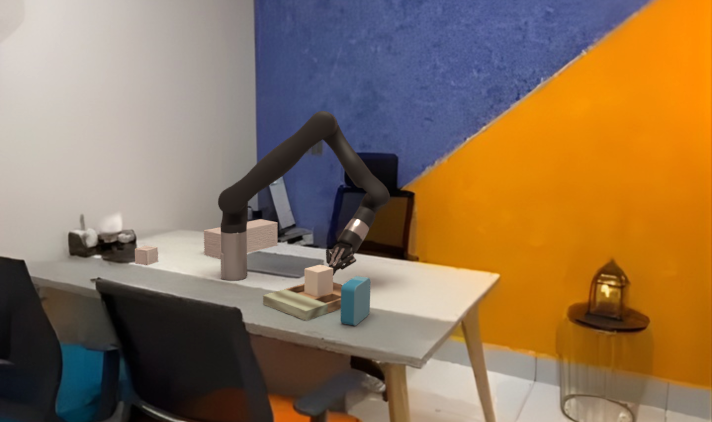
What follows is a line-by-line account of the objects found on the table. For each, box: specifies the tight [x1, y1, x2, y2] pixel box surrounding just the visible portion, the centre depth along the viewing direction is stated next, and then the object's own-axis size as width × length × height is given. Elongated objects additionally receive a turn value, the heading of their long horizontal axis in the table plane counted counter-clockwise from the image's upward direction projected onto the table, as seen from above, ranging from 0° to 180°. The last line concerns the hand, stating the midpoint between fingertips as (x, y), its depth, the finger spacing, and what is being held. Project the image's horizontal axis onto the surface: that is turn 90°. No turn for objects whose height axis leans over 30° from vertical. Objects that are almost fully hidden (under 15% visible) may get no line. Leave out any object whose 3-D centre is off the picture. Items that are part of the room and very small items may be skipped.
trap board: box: [262, 281, 343, 321], centre depth 190 cm, size 26×20×3 cm
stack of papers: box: [203, 218, 278, 260], centre depth 253 cm, size 32×11×11 cm, turn 142°
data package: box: [340, 275, 372, 327], centre depth 175 cm, size 12×4×12 cm, turn 157°
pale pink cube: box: [134, 245, 159, 266], centre depth 231 cm, size 6×6×6 cm
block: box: [303, 264, 334, 297], centre depth 190 cm, size 7×6×8 cm
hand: (327, 277), depth 193 cm, fingers closed
